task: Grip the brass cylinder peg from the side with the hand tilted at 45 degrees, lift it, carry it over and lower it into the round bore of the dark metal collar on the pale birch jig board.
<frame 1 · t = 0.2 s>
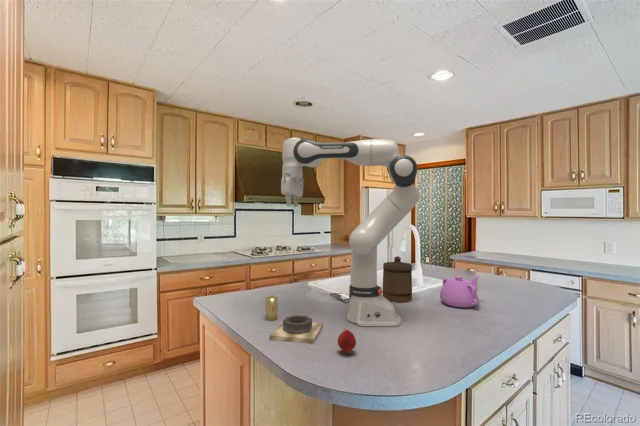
hand: (292, 206, 142), 48 cm above the worktop, tool pointing down, fingers open, 8 cm apart
jig board: (297, 333, 120), on the worktop
brass cylinder peg: (271, 318, 136), on the worktop
wooden container: (397, 299, 167), on the worktop
onion: (346, 353, 103), on the worktop
teapot: (462, 304, 158), on the worktop
cloth: (344, 300, 168), on the worktop
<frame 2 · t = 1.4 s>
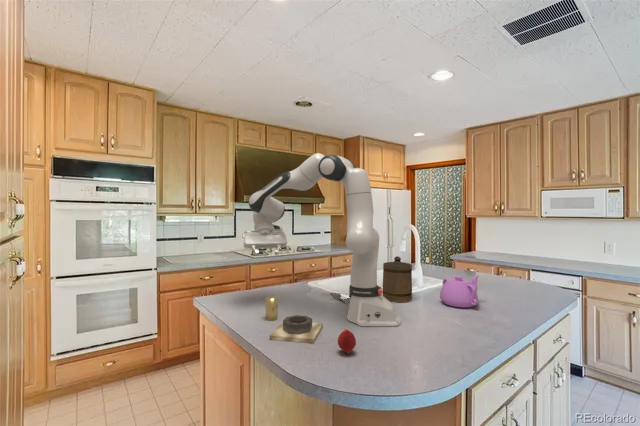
hand: (267, 253, 147), 26 cm above the worktop, tool tilted 45°, fingers open, 8 cm apart
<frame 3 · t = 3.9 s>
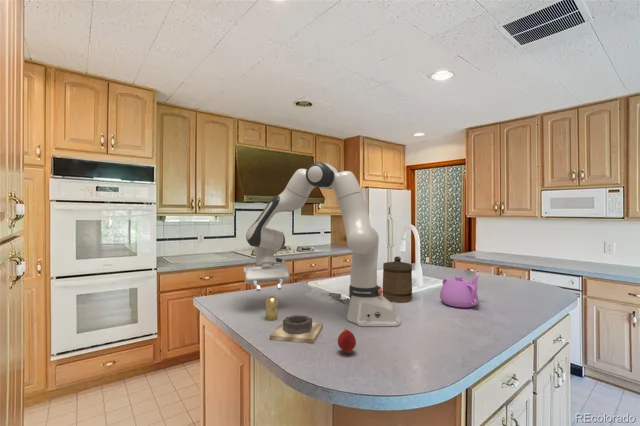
hand: (269, 289, 143), 11 cm above the worktop, tool tilted 45°, fingers open, 8 cm apart
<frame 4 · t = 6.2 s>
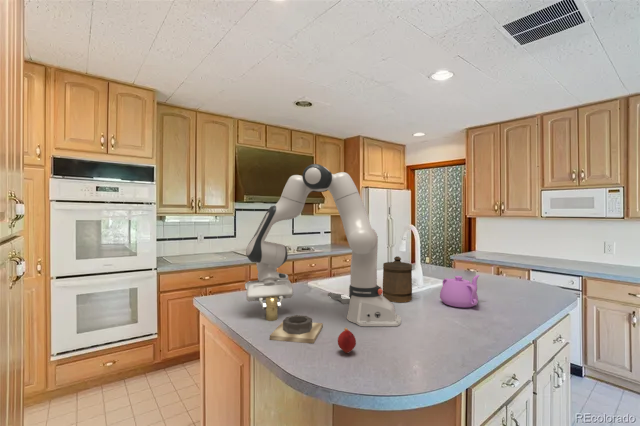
hand: (272, 307, 135), 5 cm above the worktop, tool tilted 45°, fingers closed on brass cylinder peg, 5 cm apart
brass cylinder peg: (271, 318, 136), on the worktop, touching gripper
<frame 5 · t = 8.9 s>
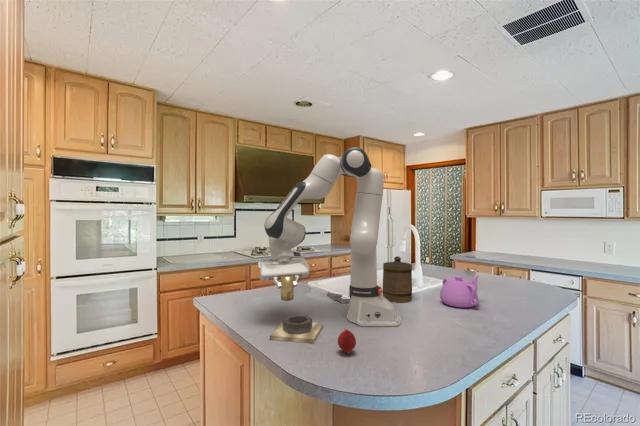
hand: (287, 287, 126), 16 cm above the worktop, tool tilted 45°, fingers closed on brass cylinder peg, 5 cm apart
brass cylinder peg: (287, 299, 127), point 11 cm above the worktop, touching gripper
when the fingers open (8 cm above the worktop, at t = 11.9 s): brass cylinder peg drops 1 cm, resting on jig board.
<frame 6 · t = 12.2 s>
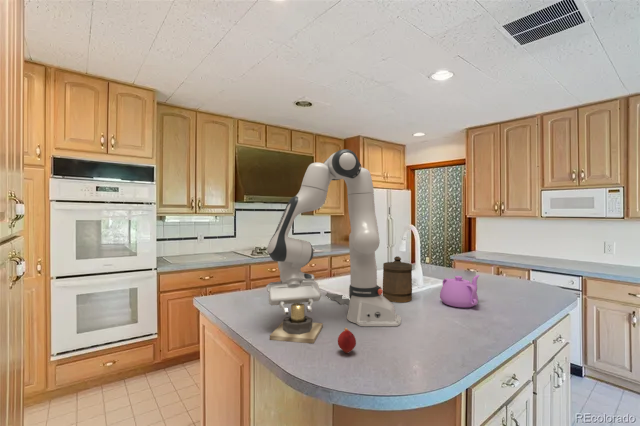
hand: (298, 312, 120), 8 cm above the worktop, tool tilted 45°, fingers open, 8 cm apart
brass cylinder peg: (297, 329, 120), point 1 cm above the worktop, touching jig board
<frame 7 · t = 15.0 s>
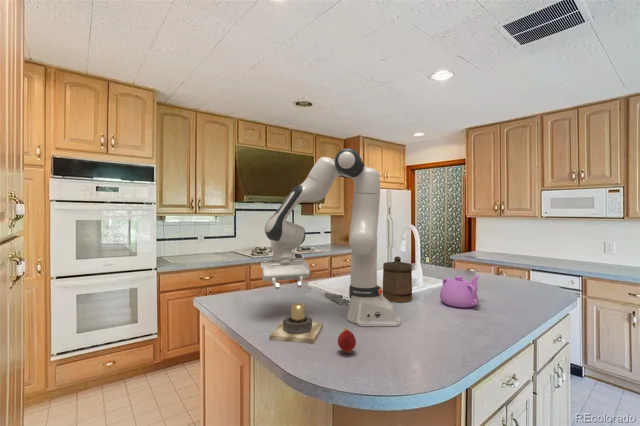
hand: (288, 287, 131), 14 cm above the worktop, tool tilted 45°, fingers open, 8 cm apart
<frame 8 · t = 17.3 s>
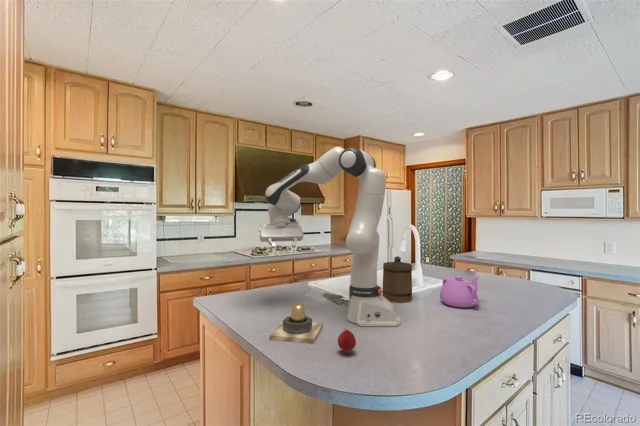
hand: (283, 247, 145), 29 cm above the worktop, tool tilted 45°, fingers open, 8 cm apart
at the end: brass cylinder peg 0.1 cm off-centre on the jig board, point 1.5 cm above the jig board's base; brass cylinder peg tilted 1°; the gripper is holding nothing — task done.
